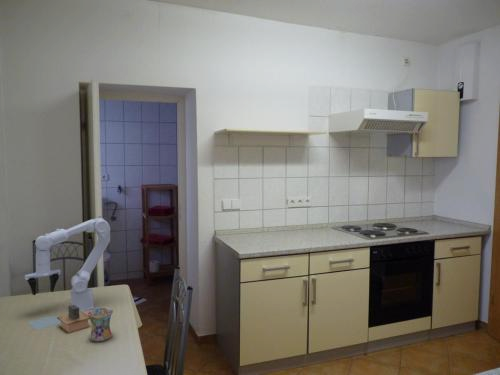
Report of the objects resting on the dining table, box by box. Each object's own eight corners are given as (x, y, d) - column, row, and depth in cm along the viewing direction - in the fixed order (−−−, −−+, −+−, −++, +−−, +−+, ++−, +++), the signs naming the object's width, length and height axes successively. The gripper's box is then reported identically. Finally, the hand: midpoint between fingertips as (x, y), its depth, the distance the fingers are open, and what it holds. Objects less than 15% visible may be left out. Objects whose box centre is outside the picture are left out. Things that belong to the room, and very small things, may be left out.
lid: (80, 312, 174) (80, 300, 174) (91, 318, 167) (90, 307, 167) (57, 318, 167) (56, 306, 167) (66, 325, 160) (66, 313, 160)
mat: (54, 316, 179) (54, 315, 179) (63, 323, 171) (63, 322, 171) (27, 323, 171) (27, 322, 171) (36, 331, 163) (36, 330, 163)
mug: (115, 339, 157) (115, 313, 156) (90, 345, 152) (90, 318, 151) (108, 328, 167) (108, 303, 166) (84, 333, 162) (84, 308, 161)
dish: (80, 322, 173) (79, 313, 172) (88, 328, 167) (87, 318, 167) (60, 327, 167) (60, 318, 167) (68, 334, 161) (68, 324, 161)
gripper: (28, 267, 170) (28, 298, 171) (63, 262, 181) (63, 291, 182) (22, 264, 175) (23, 294, 176) (57, 259, 186) (57, 287, 187)
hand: (43, 292), depth 179 cm, fingers open, 7 cm apart
